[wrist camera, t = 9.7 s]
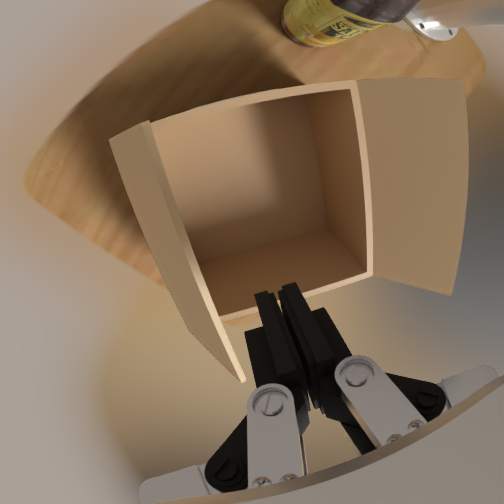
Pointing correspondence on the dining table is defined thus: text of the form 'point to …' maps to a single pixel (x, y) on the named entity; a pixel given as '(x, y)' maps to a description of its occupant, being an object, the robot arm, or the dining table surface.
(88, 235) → the dining table surface
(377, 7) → the sauce bottle
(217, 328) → the flap
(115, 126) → the dining table surface
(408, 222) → the flap
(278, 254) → the carton
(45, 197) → the dining table surface
